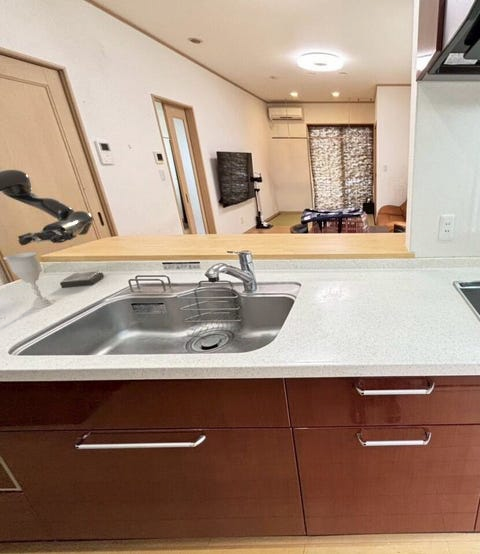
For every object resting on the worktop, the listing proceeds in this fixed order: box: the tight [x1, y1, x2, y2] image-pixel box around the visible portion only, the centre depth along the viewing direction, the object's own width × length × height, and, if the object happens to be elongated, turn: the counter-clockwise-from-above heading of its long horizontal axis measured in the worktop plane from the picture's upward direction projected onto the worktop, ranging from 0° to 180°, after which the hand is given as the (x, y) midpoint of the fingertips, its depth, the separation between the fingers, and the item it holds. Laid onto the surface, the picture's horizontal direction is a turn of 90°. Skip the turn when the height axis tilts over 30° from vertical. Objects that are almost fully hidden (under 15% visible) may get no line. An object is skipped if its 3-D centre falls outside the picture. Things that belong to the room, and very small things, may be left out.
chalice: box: [2, 251, 54, 309], centre depth 99 cm, size 7×7×18 cm
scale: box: [59, 270, 105, 289], centre depth 120 cm, size 10×9×3 cm
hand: (37, 241), depth 104 cm, fingers open, 8 cm apart
